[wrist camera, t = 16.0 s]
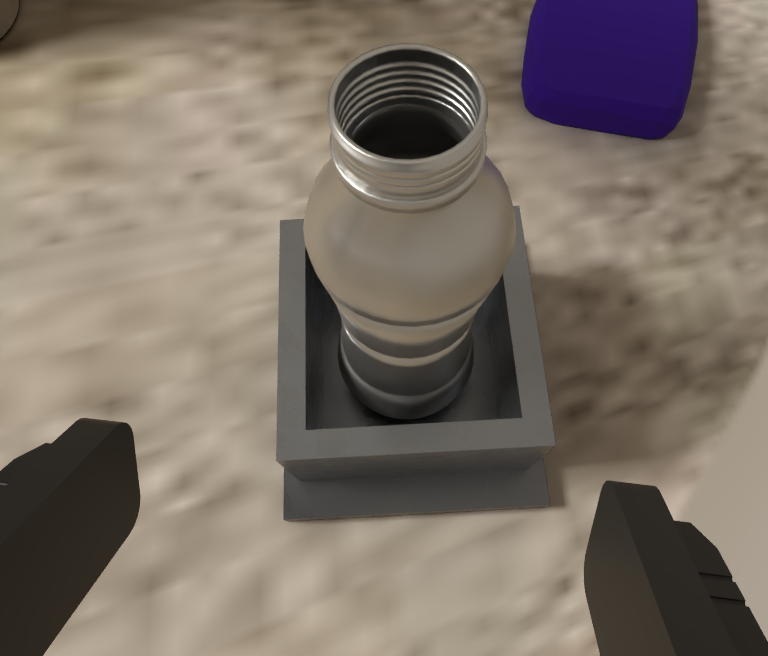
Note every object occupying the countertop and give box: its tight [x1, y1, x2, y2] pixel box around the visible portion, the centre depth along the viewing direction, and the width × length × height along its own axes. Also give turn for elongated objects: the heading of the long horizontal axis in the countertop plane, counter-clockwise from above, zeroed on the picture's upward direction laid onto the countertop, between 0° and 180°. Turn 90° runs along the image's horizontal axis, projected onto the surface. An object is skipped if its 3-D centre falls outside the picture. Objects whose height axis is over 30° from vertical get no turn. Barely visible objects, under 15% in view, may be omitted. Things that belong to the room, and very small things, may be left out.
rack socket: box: [276, 206, 556, 521], centre depth 30 cm, size 15×13×7 cm
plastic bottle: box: [303, 43, 516, 419], centre depth 23 cm, size 6×7×20 cm
